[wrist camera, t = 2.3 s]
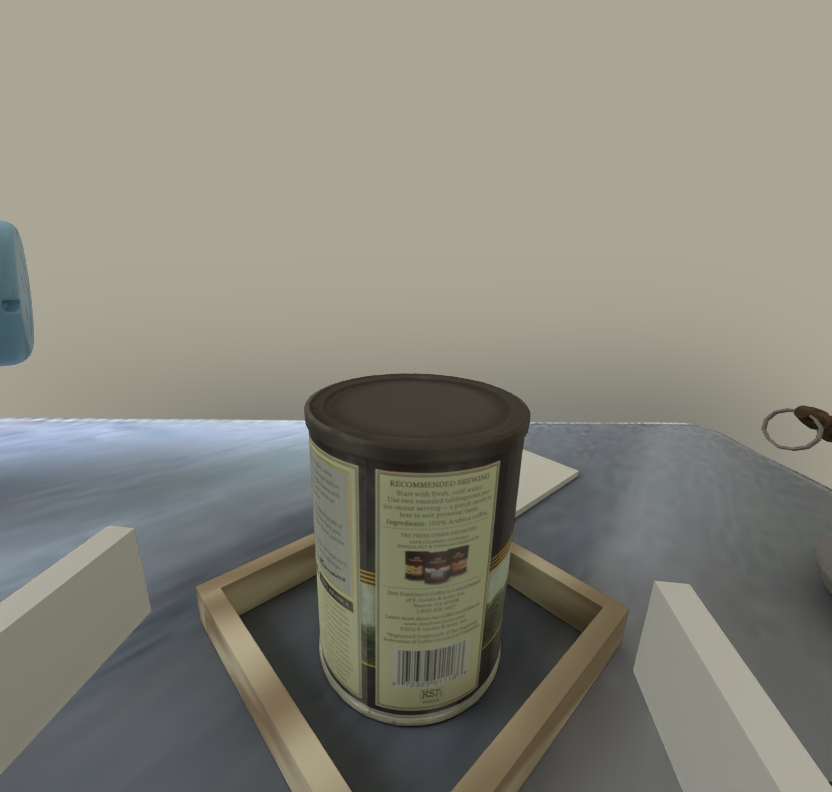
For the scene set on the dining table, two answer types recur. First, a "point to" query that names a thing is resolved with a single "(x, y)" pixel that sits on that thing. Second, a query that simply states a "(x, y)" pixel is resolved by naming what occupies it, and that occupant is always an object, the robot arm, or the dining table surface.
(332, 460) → the coffee can
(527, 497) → the white square board
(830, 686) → the dining table surface
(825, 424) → the coffee pot
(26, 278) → the robot arm
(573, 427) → the dining table surface
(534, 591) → the birch frame
